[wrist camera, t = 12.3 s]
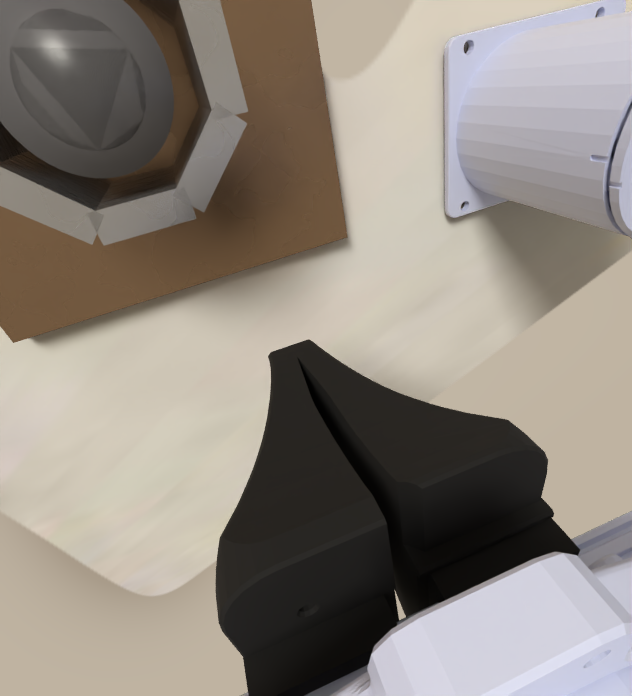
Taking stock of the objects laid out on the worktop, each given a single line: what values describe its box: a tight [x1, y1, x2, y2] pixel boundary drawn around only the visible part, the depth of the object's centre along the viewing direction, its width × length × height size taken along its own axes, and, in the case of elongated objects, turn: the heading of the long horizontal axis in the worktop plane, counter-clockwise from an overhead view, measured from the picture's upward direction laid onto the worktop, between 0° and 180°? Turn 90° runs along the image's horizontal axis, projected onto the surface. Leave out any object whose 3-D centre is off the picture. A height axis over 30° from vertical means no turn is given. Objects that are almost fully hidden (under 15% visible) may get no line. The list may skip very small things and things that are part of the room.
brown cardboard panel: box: [0, 0, 347, 343], centre depth 13 cm, size 16×16×6 cm
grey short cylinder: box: [0, 0, 174, 178], centre depth 12 cm, size 4×4×5 cm
